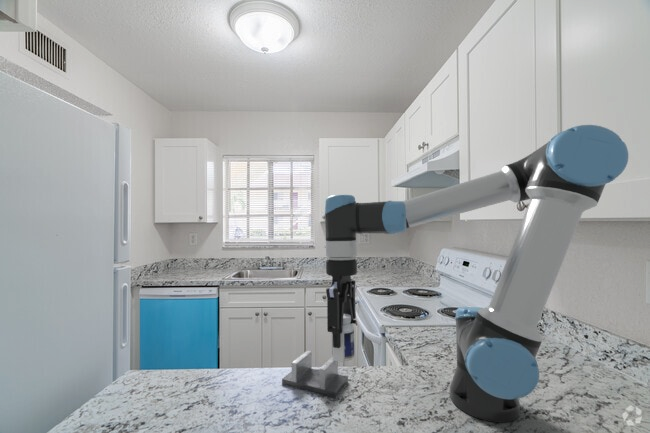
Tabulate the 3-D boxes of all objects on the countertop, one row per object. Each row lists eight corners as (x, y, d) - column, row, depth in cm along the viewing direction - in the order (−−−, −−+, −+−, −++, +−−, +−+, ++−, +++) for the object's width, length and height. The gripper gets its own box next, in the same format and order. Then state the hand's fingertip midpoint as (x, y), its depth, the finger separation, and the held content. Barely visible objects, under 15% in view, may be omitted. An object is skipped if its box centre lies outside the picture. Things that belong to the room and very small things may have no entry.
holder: (347, 381, 82) (347, 358, 82) (335, 398, 74) (335, 372, 74) (298, 370, 88) (298, 348, 89) (282, 384, 80) (282, 360, 81)
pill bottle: (328, 360, 68) (328, 317, 69) (336, 351, 73) (335, 312, 74) (351, 363, 66) (350, 319, 67) (356, 354, 71) (356, 313, 72)
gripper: (340, 255, 81) (342, 340, 80) (310, 261, 64) (312, 369, 63) (366, 255, 78) (369, 344, 77) (341, 262, 61) (344, 375, 60)
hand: (343, 355), depth 70 cm, fingers closed on pill bottle, 5 cm apart
